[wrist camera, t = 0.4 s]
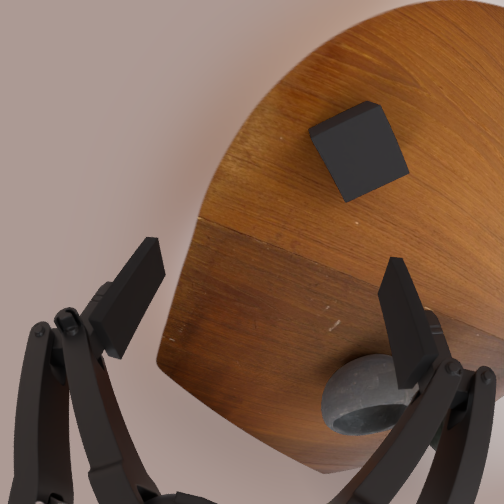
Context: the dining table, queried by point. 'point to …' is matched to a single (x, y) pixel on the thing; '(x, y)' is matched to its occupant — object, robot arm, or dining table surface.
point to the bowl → (365, 397)
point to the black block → (359, 150)
